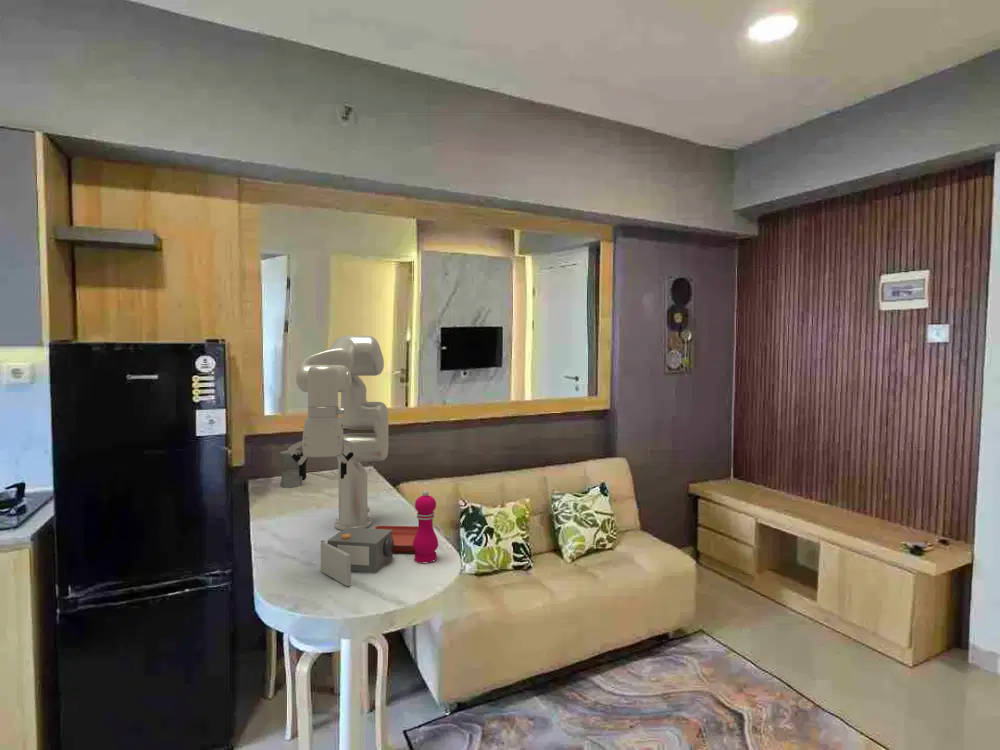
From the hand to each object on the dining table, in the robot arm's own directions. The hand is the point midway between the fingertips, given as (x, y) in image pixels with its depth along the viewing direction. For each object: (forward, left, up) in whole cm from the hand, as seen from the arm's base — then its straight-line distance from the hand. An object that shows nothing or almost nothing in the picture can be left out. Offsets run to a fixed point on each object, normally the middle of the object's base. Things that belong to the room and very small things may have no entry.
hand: (323, 478), depth 144 cm
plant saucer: (-28, +10, -27) cm, 40 cm away
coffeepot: (-92, -63, -27) cm, 115 cm away
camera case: (-11, +5, -26) cm, 29 cm away
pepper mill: (-17, +22, -27) cm, 39 cm away
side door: (0, +3, -26) cm, 26 cm away
